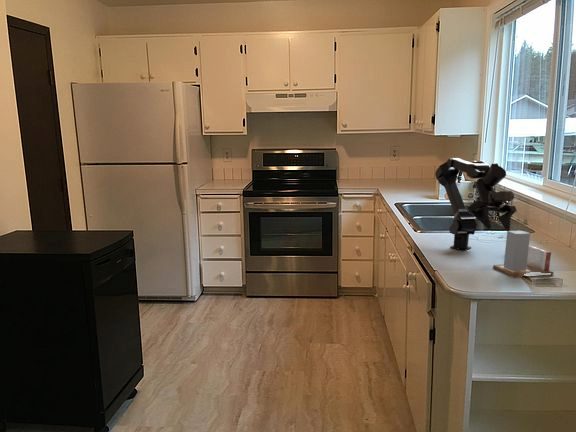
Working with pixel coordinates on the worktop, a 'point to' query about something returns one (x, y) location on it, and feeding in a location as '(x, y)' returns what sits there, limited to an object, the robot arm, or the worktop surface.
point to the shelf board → (530, 263)
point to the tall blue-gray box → (516, 250)
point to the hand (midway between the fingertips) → (499, 229)
